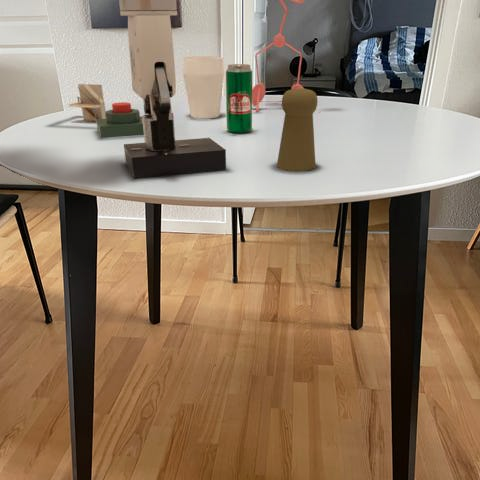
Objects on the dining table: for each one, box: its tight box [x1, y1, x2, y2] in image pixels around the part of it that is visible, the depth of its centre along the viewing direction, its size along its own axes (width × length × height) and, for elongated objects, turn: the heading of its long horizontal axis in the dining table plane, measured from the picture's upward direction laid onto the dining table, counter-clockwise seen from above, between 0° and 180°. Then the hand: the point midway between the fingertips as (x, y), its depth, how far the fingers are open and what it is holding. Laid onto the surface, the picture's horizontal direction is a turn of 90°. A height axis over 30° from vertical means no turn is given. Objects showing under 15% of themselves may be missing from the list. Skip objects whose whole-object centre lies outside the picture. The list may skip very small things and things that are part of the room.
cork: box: [276, 87, 318, 172], centre depth 75 cm, size 6×6×11 cm
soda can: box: [225, 63, 253, 135], centre depth 97 cm, size 5×5×12 cm
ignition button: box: [111, 101, 132, 113], centre depth 98 cm, size 4×4×2 cm
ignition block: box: [95, 108, 144, 139], centre depth 99 cm, size 10×8×4 cm
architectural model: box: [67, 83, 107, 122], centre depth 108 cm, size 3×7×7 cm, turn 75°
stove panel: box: [123, 137, 227, 179], centre depth 77 cm, size 14×9×3 cm, turn 109°
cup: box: [182, 56, 225, 120], centre depth 112 cm, size 9×9×12 cm
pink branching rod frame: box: [252, 0, 321, 114], centre depth 116 cm, size 15×26×35 cm, turn 76°
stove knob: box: [141, 112, 176, 151], centre depth 74 cm, size 5×5×5 cm
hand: (160, 144), depth 75 cm, fingers closed on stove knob, 4 cm apart
